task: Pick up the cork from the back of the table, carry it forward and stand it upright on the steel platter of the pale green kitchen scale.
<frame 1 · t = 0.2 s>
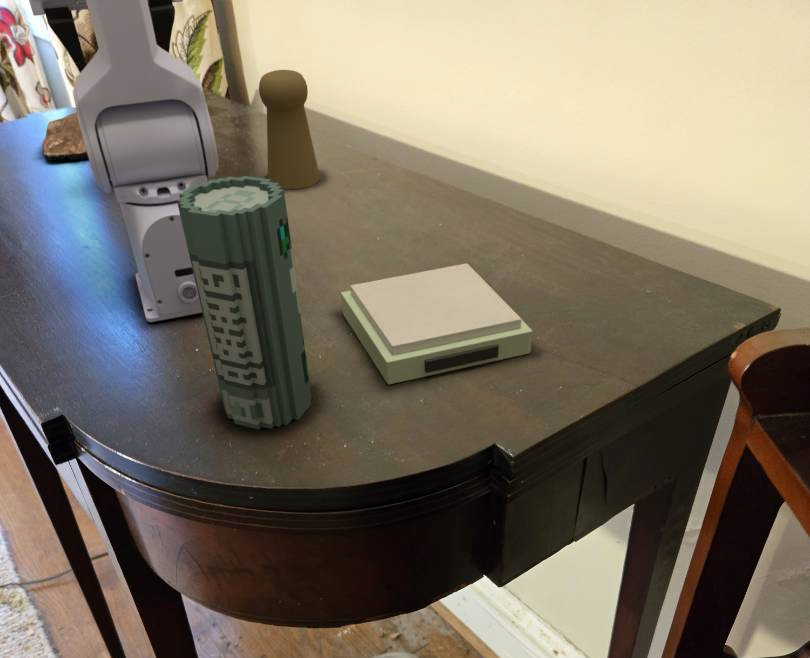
hand: (129, 88, 82), 10 cm above the table, tool pointing down, fingers open, 7 cm apart
scale: (432, 332, 64), on the table
can: (268, 406, 57), on the table
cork: (294, 181, 90), on the table
brown stone slab: (95, 146, 101), on the table
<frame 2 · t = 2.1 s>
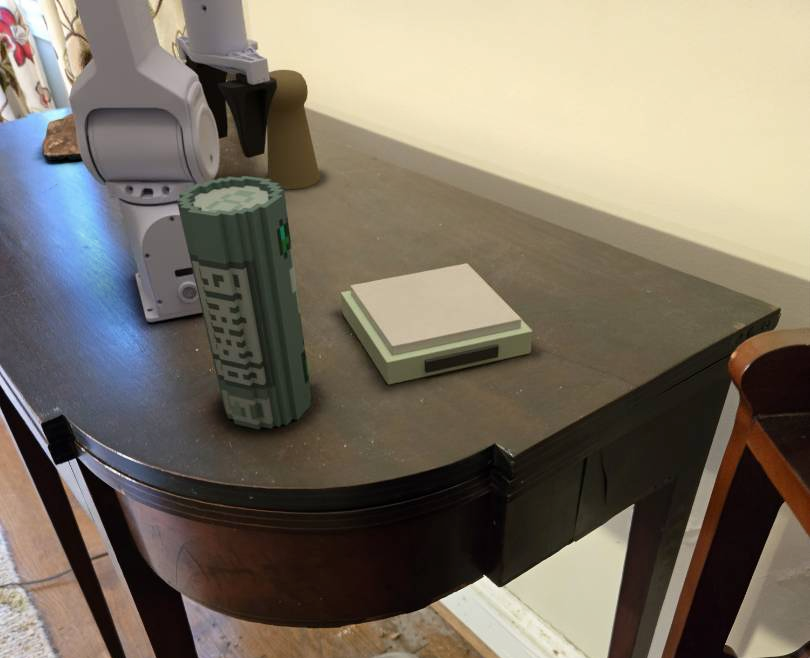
hand: (235, 146, 83), 5 cm above the table, tool pointing down, fingers open, 7 cm apart
nothing on the table moved.
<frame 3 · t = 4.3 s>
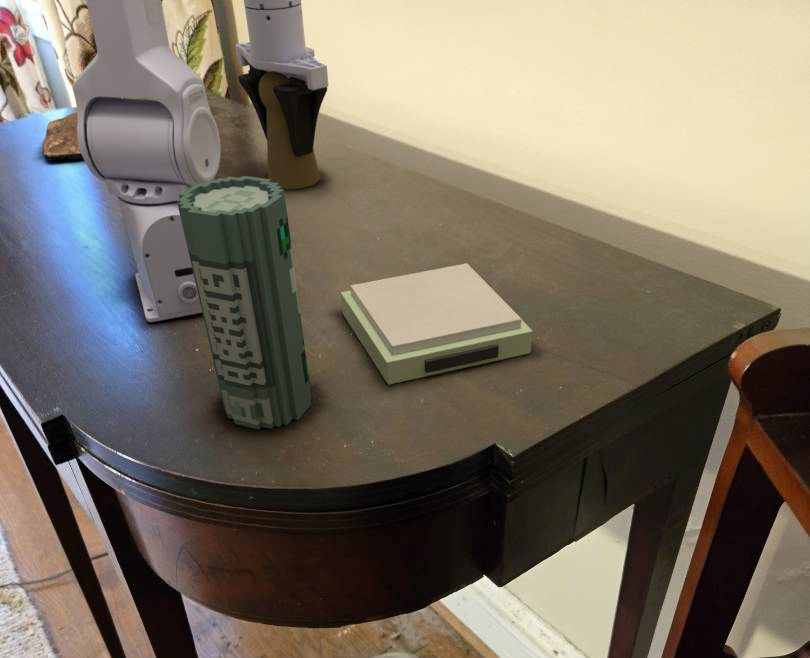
hand: (290, 148, 87), 3 cm above the table, tool pointing down, fingers closed on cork, 5 cm apart
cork: (294, 181, 90), on the table, touching gripper
everything else where it was.
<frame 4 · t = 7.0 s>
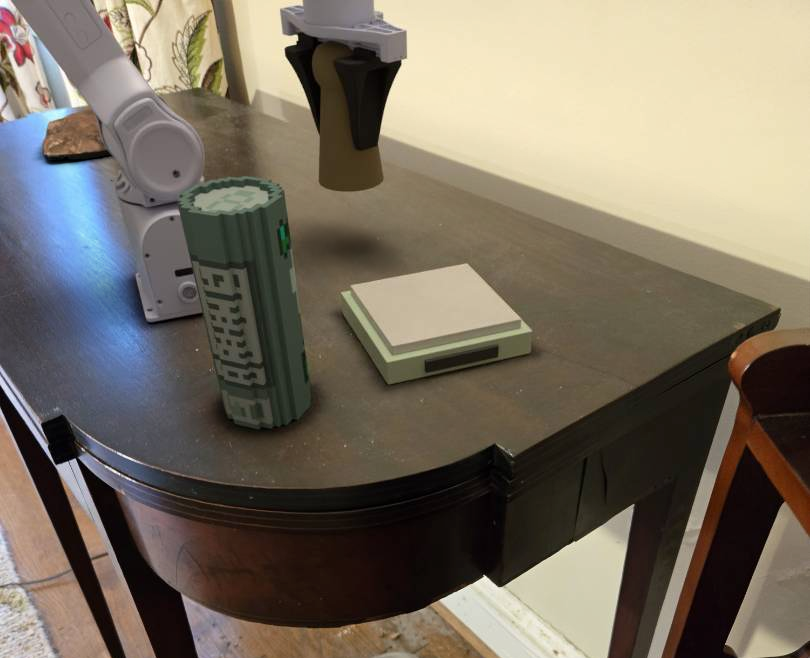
hand: (348, 140, 69), 10 cm above the table, tool pointing down, fingers closed on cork, 5 cm apart
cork: (351, 181, 71), point 6 cm above the table, touching gripper
everything else where it was.
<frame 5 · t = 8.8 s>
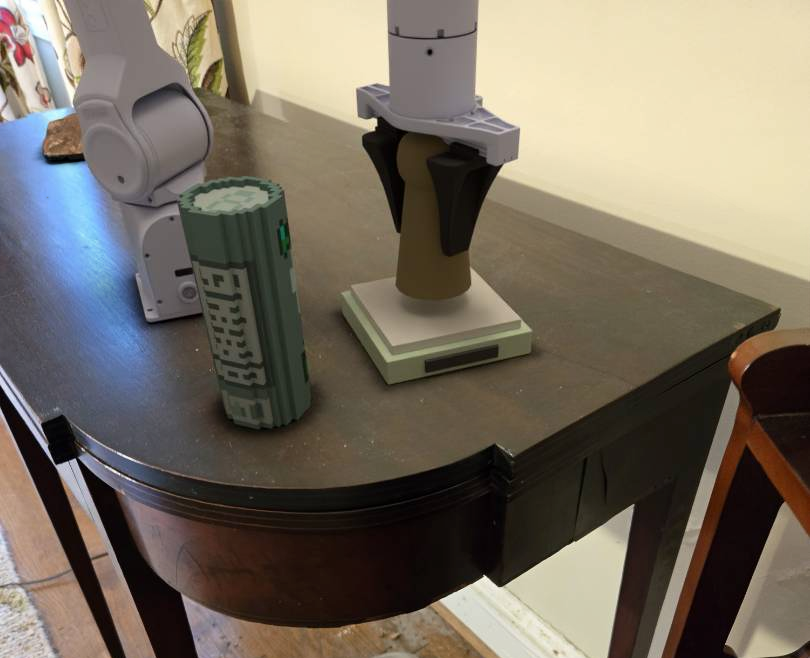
hand: (432, 240, 58), 8 cm above the table, tool pointing down, fingers closed on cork, 5 cm apart
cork: (433, 284, 61), point 4 cm above the table, touching gripper
everything else where it was.
when the fingers open (6 cm above the table, at t = 9.8 s): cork stays where it is, resting on scale.
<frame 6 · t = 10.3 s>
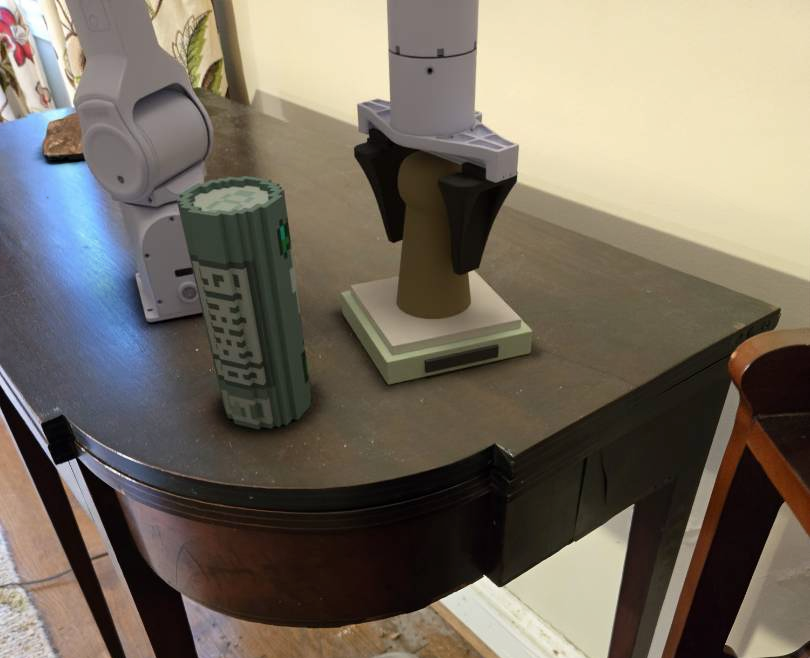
hand: (432, 253, 59), 7 cm above the table, tool pointing down, fingers open, 7 cm apart
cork: (433, 302, 62), point 3 cm above the table, touching scale
everything else where it was.
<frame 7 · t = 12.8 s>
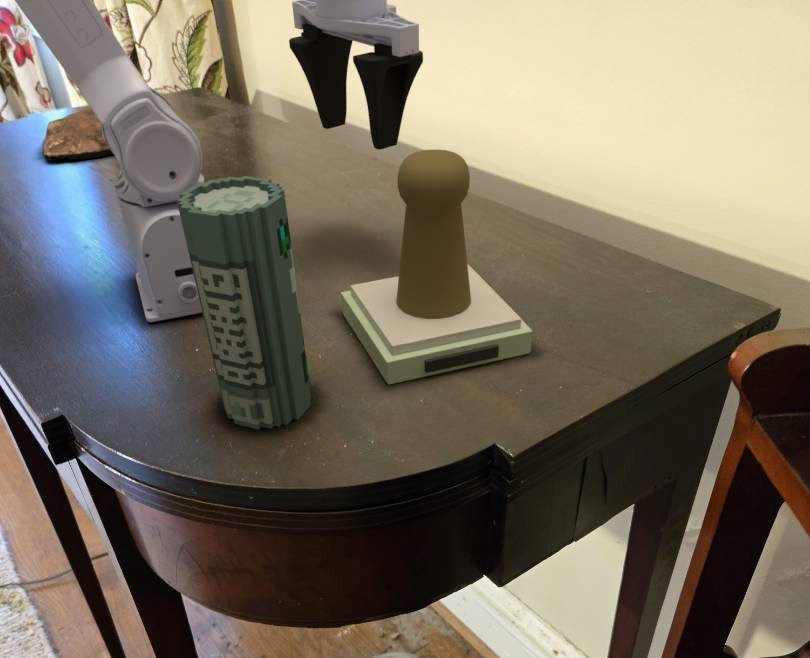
hand: (359, 136, 68), 10 cm above the table, tool pointing down, fingers open, 7 cm apart
nothing on the table moved.
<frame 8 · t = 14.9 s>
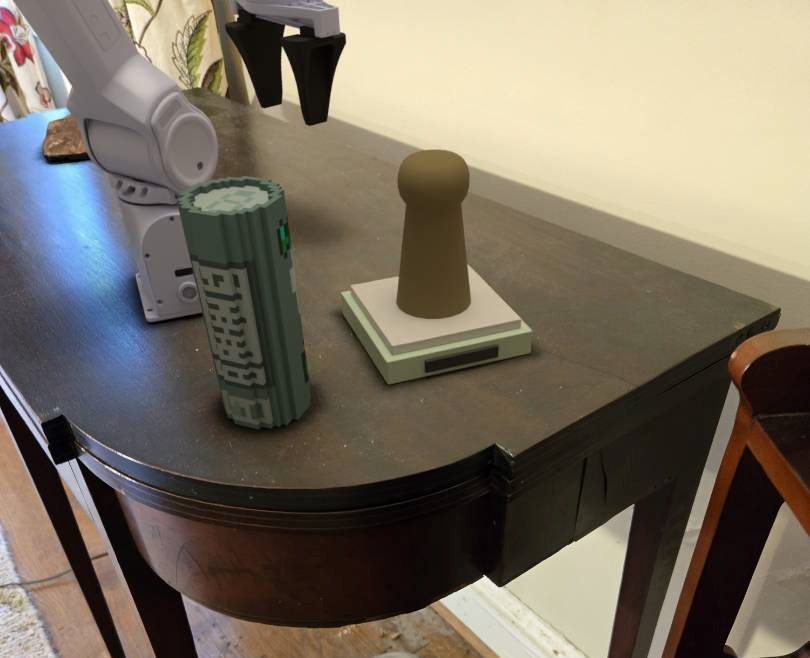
hand: (293, 114, 73), 10 cm above the table, tool pointing down, fingers open, 7 cm apart
nothing on the table moved.
at the end: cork inside the target area on the scale (0.1 cm from its centre), point 2.6 cm above the scale's base; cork tilted 0° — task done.
